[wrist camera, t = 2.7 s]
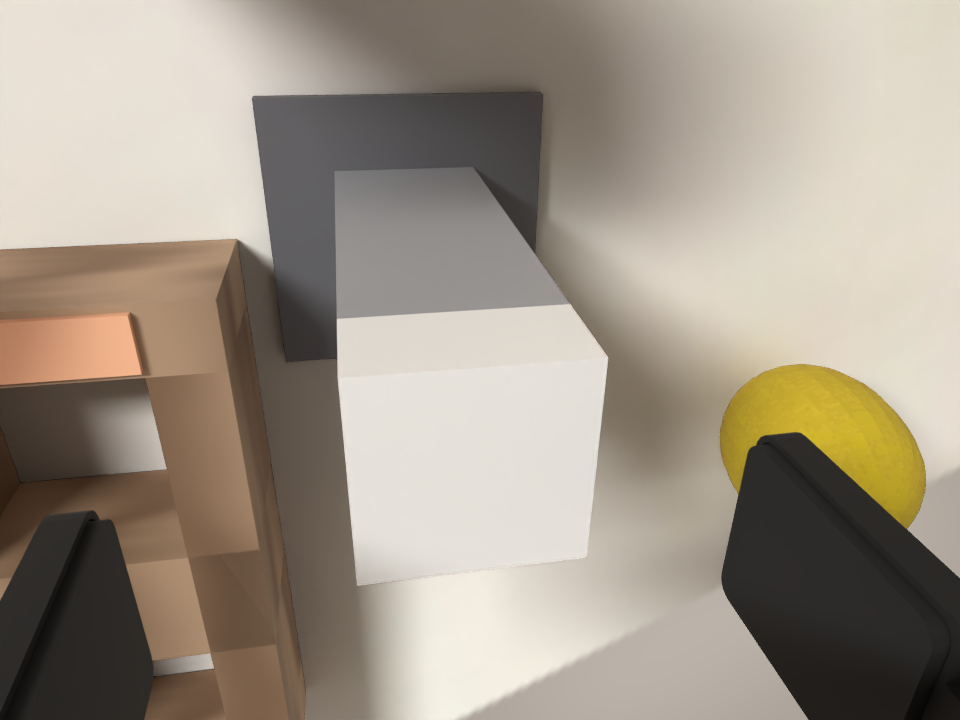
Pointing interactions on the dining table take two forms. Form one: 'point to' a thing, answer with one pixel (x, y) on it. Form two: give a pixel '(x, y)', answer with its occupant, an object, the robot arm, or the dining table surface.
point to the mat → (377, 146)
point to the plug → (457, 382)
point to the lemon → (829, 431)
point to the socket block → (188, 456)
